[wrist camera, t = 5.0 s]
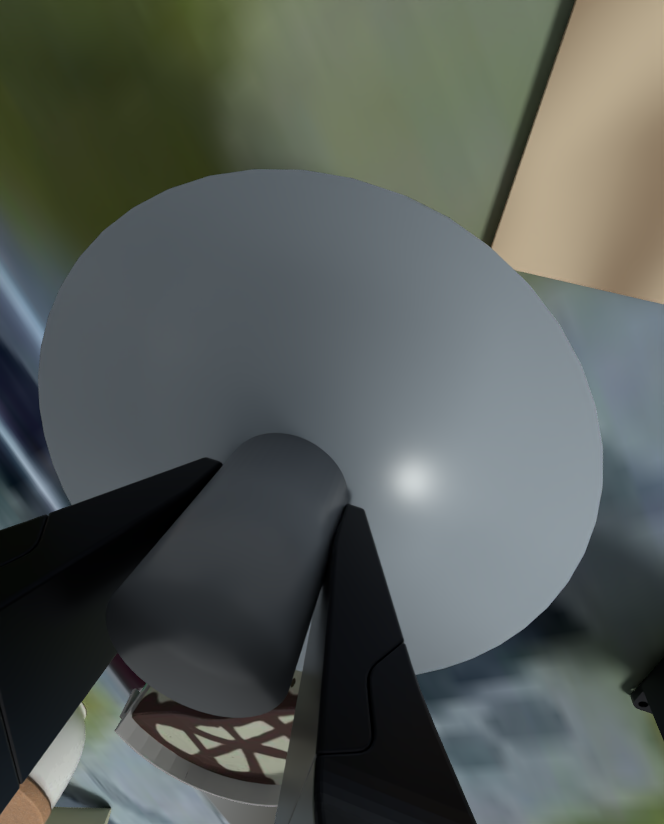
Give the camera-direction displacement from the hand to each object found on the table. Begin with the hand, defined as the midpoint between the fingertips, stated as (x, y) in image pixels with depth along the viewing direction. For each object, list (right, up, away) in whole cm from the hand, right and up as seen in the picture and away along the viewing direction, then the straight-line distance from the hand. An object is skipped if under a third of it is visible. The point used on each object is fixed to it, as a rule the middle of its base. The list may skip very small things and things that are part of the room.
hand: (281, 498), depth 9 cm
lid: (0, +1, +1) cm, 1 cm away
